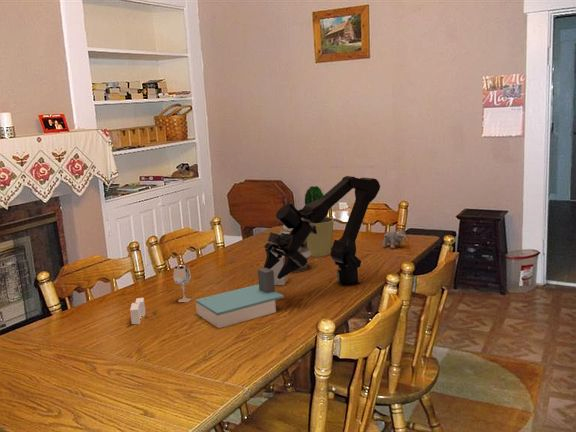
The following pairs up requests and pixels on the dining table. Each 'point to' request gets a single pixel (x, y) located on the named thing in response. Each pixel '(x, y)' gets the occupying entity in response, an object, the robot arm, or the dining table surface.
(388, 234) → the gray elephant figurine
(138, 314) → the napkin holder
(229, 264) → the dining table surface
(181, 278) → the wineglass
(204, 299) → the lid
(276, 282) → the small box
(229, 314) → the carton
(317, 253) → the potted cactus
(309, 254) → the apothecary jar
